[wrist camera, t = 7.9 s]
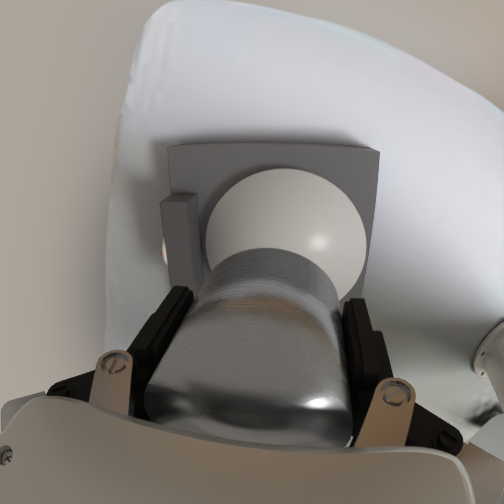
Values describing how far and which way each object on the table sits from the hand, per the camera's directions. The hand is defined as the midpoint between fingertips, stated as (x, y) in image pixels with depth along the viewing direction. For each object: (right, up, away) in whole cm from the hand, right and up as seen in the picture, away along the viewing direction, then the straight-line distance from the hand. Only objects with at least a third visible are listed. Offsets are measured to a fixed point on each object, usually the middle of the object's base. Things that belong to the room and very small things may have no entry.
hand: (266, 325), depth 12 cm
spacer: (0, 0, +1) cm, 1 cm away
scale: (+2, +5, +19) cm, 20 cm away
